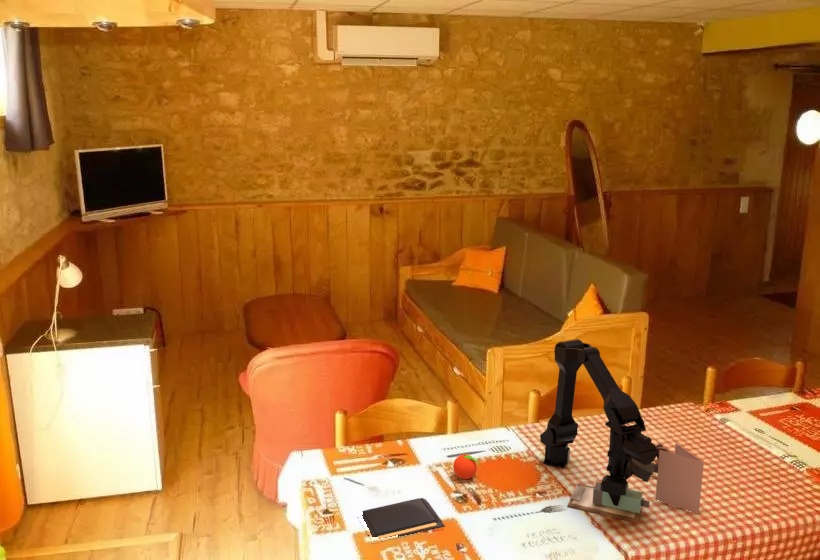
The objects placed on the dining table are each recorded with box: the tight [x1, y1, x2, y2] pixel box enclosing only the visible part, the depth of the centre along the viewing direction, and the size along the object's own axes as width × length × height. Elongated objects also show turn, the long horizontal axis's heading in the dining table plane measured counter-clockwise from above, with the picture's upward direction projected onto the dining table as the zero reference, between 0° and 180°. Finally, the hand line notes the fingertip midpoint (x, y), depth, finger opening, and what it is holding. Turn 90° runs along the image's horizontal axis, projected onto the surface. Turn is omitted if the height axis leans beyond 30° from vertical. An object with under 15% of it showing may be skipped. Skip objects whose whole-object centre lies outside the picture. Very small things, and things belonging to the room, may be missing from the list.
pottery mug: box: [651, 443, 675, 474], centre depth 209 cm, size 12×10×8 cm
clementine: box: [452, 453, 481, 480], centre depth 205 cm, size 8×7×7 cm
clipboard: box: [567, 483, 645, 524], centre depth 192 cm, size 18×12×1 cm, turn 64°
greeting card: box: [655, 442, 705, 515], centre depth 189 cm, size 11×7×15 cm, turn 17°
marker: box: [593, 481, 650, 514], centre depth 188 cm, size 14×4×4 cm, turn 65°
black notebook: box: [362, 497, 446, 539], centre depth 186 cm, size 20×2×15 cm
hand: (617, 501), depth 189 cm, fingers closed on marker, 4 cm apart
